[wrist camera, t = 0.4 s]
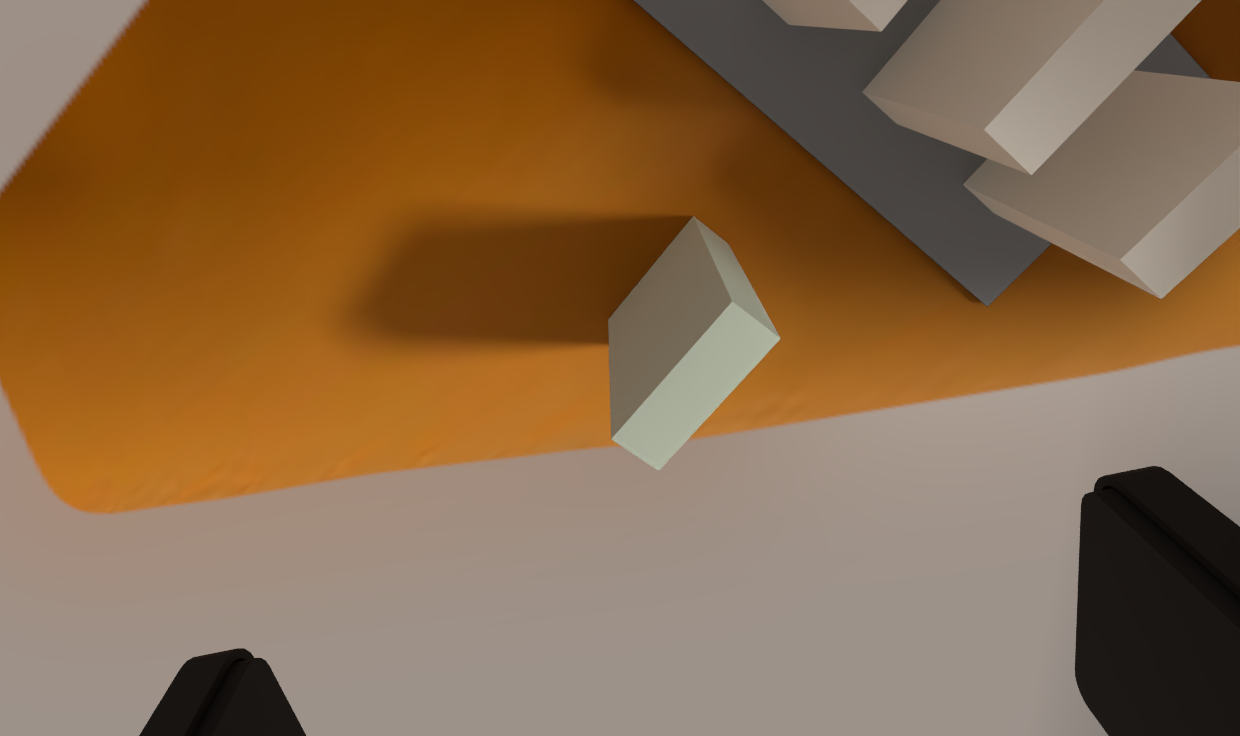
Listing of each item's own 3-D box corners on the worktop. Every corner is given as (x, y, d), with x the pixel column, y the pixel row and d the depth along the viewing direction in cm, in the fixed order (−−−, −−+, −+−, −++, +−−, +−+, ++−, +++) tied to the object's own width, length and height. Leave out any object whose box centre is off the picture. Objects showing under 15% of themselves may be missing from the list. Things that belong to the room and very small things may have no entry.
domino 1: (728, 243, 35) (780, 338, 25) (642, 344, 36) (658, 470, 26) (693, 215, 34) (732, 301, 24) (608, 319, 36) (611, 439, 26)
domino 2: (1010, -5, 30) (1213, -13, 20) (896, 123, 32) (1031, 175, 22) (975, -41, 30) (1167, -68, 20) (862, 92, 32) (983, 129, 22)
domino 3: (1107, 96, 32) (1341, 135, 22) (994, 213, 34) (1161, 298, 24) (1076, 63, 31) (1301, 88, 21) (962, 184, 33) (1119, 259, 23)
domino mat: (1205, 82, 32) (1214, 82, 32) (982, 302, 36) (987, 306, 35) (749, -425, 25) (751, -433, 25) (532, -88, 29) (531, -89, 29)
